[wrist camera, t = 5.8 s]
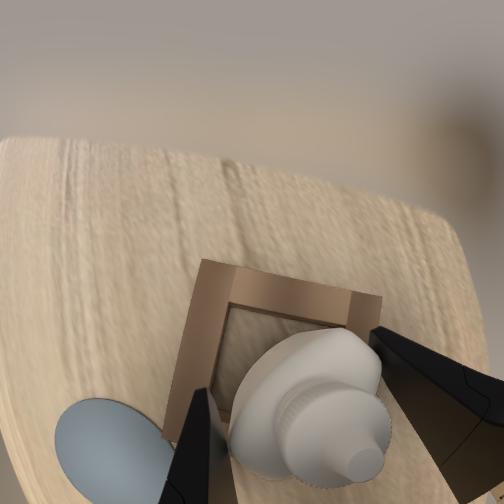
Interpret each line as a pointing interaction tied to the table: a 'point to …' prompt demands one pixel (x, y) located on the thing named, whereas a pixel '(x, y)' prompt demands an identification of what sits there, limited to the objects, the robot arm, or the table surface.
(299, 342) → the eye dropper bottle
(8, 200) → the table surface
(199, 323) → the walnut socket block
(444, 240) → the table surface
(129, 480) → the slate-blue rubber mat
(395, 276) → the table surface
